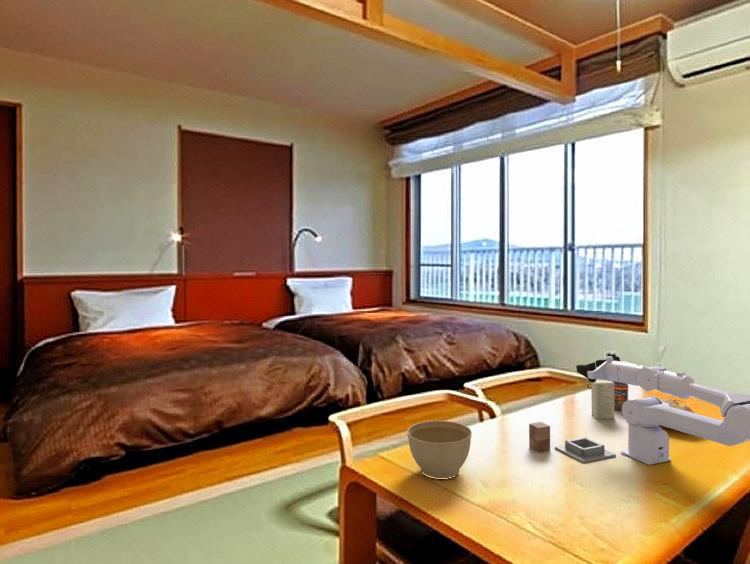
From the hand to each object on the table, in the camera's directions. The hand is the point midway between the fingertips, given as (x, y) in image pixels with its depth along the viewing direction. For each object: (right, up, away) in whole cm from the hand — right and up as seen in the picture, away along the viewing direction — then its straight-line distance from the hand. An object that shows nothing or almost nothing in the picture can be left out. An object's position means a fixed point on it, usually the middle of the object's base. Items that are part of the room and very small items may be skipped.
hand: (587, 366), depth 158 cm
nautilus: (+31, -20, +8) cm, 38 cm away
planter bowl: (-48, -23, -25) cm, 59 cm away
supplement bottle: (+21, -19, +25) cm, 38 cm away
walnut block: (-18, -22, -11) cm, 30 cm away
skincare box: (+12, -20, +16) cm, 28 cm away
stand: (-6, -22, -14) cm, 26 cm away
